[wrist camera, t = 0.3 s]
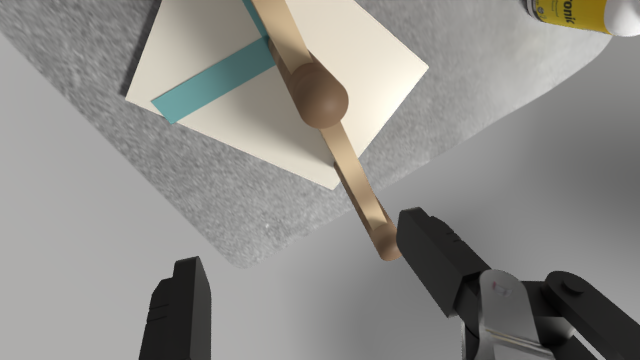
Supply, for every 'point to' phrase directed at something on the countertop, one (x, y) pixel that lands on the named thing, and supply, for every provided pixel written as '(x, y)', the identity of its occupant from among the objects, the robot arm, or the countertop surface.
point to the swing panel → (361, 192)
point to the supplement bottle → (590, 15)
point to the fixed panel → (301, 68)
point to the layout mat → (270, 77)
